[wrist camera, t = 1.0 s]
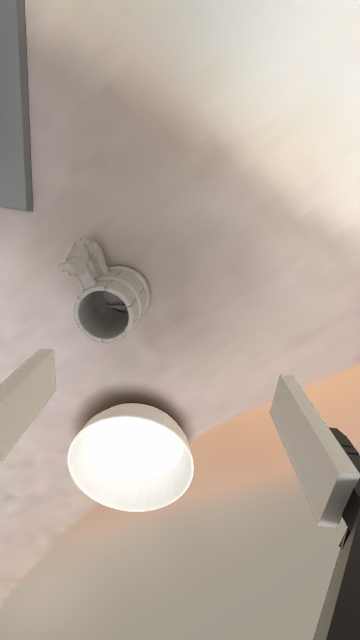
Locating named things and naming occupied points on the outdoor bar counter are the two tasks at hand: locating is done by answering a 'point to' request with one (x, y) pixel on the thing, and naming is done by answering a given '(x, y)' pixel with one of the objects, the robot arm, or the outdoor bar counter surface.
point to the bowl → (131, 458)
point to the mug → (91, 305)
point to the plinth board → (14, 109)
